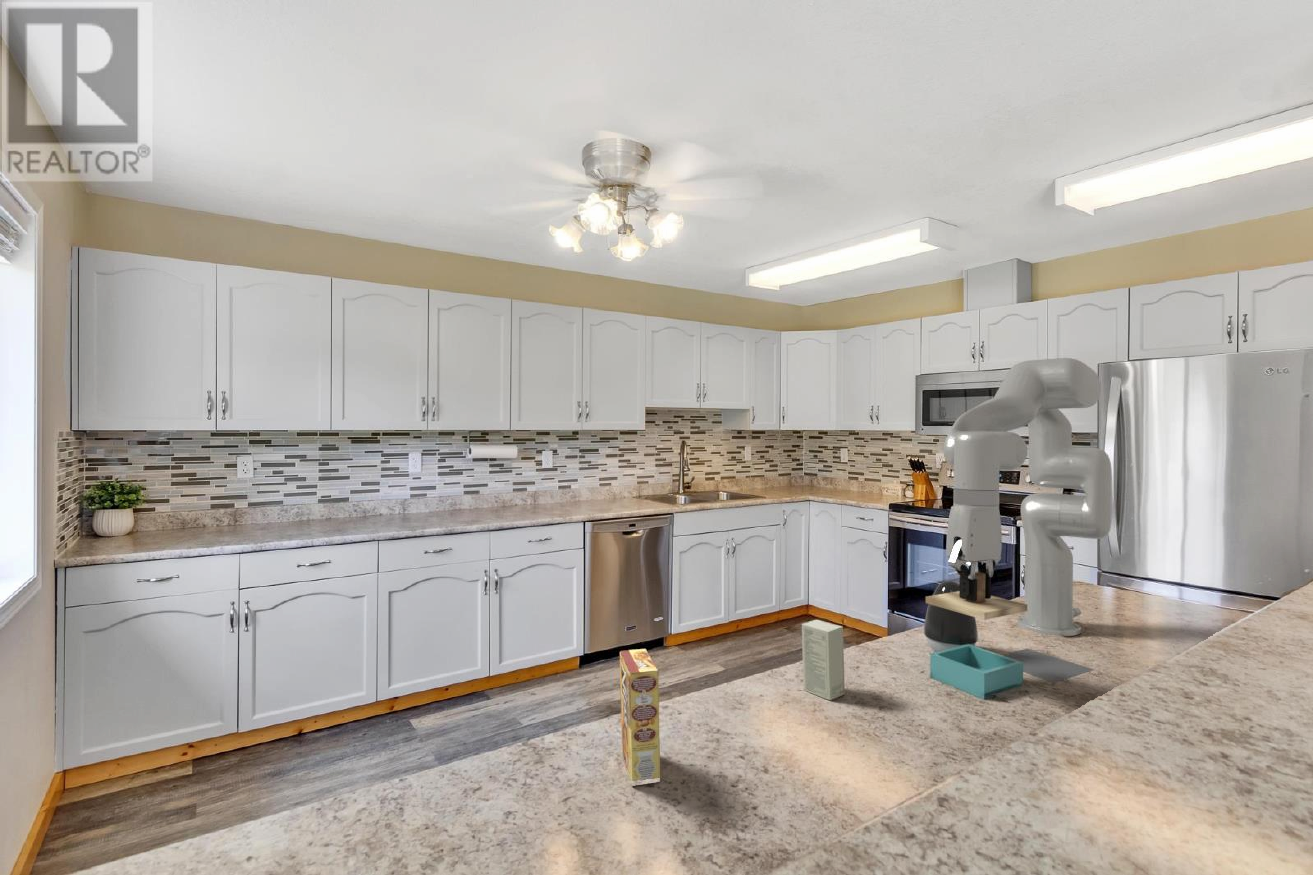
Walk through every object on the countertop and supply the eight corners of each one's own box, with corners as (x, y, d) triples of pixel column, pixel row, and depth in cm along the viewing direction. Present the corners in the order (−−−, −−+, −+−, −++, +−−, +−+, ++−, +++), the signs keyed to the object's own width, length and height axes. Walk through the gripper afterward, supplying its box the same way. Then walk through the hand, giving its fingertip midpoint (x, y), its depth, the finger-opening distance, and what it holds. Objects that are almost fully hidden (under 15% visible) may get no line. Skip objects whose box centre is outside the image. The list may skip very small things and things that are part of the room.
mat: (1027, 650, 133) (1027, 648, 133) (1093, 671, 121) (1093, 669, 121) (987, 661, 127) (987, 659, 127) (1053, 684, 115) (1053, 682, 115)
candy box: (661, 784, 84) (660, 670, 83) (630, 788, 83) (629, 673, 83) (647, 751, 92) (646, 647, 92) (619, 754, 91) (618, 650, 91)
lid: (967, 595, 124) (967, 564, 124) (1027, 611, 113) (1027, 576, 113) (925, 603, 118) (925, 570, 118) (984, 619, 108) (984, 583, 108)
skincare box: (845, 695, 111) (845, 627, 111) (829, 701, 108) (829, 632, 108) (816, 683, 116) (816, 618, 116) (801, 689, 113) (800, 623, 113)
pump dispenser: (988, 662, 126) (988, 587, 126) (936, 662, 126) (936, 587, 126) (964, 645, 136) (964, 575, 136) (916, 644, 136) (916, 575, 136)
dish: (968, 666, 124) (968, 644, 124) (1023, 687, 114) (1023, 662, 114) (930, 677, 119) (930, 653, 119) (984, 699, 109) (984, 673, 109)
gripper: (985, 495, 123) (984, 589, 123) (928, 498, 115) (927, 598, 115) (1023, 499, 116) (1022, 598, 116) (964, 503, 109) (963, 608, 109)
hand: (975, 597), depth 116 cm, fingers closed on lid, 3 cm apart
